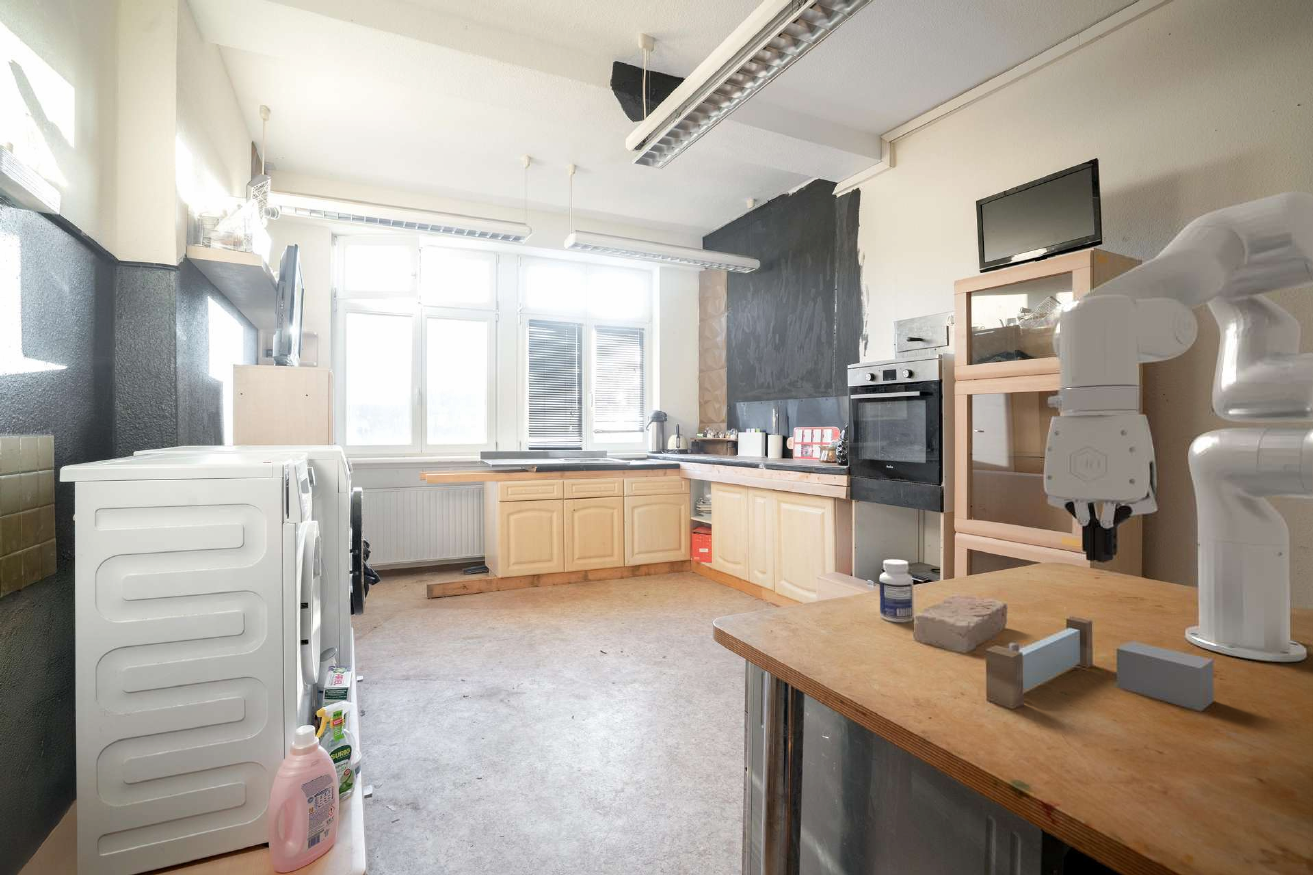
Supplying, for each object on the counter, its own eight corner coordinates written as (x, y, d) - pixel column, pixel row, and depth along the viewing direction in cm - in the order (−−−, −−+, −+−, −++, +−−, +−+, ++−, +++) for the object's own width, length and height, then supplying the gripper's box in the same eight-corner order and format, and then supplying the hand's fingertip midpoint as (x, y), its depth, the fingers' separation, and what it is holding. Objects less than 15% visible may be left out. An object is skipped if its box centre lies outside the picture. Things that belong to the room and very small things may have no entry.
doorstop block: (1131, 679, 78) (1131, 640, 78) (1213, 702, 71) (1213, 659, 71) (1117, 688, 76) (1116, 648, 76) (1201, 712, 69) (1200, 668, 69)
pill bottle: (884, 611, 108) (884, 557, 108) (917, 616, 105) (916, 560, 105) (876, 619, 104) (875, 562, 104) (909, 625, 101) (908, 566, 101)
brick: (967, 655, 88) (967, 623, 88) (910, 641, 94) (910, 611, 94) (1009, 630, 99) (1008, 601, 99) (955, 619, 105) (955, 591, 105)
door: (1017, 696, 73) (1017, 646, 73) (997, 690, 75) (996, 641, 75) (1080, 664, 82) (1079, 620, 82) (1060, 659, 84) (1059, 616, 84)
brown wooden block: (996, 694, 74) (996, 645, 74) (1023, 703, 71) (1022, 652, 71) (986, 699, 73) (985, 649, 73) (1012, 709, 70) (1012, 657, 70)
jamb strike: (1072, 659, 85) (1072, 616, 85) (1092, 664, 83) (1092, 620, 83) (1066, 662, 84) (1066, 618, 84) (1086, 667, 82) (1086, 623, 82)
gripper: (1015, 406, 76) (1016, 554, 76) (1166, 399, 63) (1167, 576, 63) (1044, 407, 80) (1045, 547, 80) (1191, 401, 68) (1192, 566, 68)
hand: (1099, 559), depth 72 cm, fingers closed
